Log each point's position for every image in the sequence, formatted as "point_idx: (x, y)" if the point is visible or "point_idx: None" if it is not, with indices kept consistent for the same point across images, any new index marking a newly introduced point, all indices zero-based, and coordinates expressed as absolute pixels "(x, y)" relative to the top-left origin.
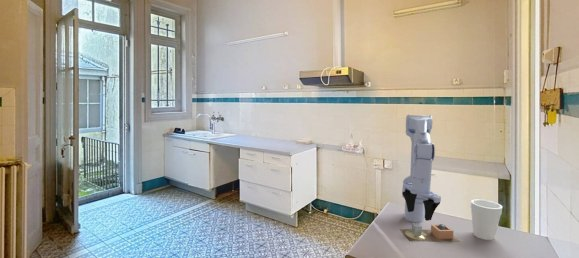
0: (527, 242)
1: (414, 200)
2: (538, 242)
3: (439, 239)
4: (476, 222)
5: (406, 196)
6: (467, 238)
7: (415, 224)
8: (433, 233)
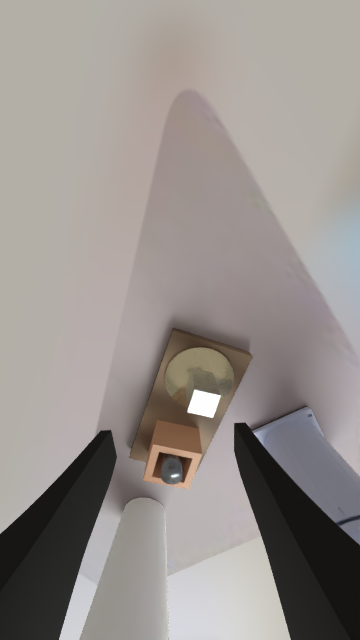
0: None
1: (273, 569)
2: None
3: (154, 419)
4: (131, 569)
5: (349, 620)
6: (153, 484)
7: (209, 402)
8: (184, 428)
